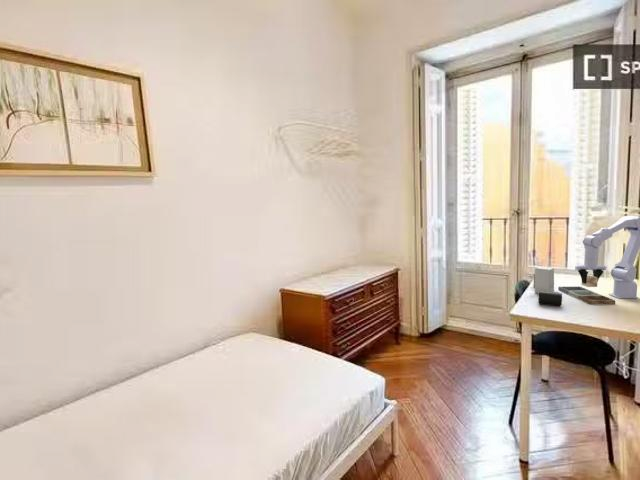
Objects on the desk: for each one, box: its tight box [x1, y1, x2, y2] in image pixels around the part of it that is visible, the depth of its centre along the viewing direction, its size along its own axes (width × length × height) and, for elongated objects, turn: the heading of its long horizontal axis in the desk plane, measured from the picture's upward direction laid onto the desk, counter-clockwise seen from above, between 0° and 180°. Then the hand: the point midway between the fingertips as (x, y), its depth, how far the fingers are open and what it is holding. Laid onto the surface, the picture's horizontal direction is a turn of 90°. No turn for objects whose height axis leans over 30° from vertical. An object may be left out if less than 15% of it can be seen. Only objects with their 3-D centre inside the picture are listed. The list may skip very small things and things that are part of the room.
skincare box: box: [534, 266, 555, 294], centre depth 209 cm, size 8×6×15 cm
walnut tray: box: [578, 295, 616, 305], centre depth 191 cm, size 12×9×2 cm
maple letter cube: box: [580, 275, 599, 288], centre depth 197 cm, size 5×5×5 cm
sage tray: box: [567, 290, 603, 300], centre depth 201 cm, size 12×9×2 cm
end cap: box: [538, 291, 563, 307], centre depth 188 cm, size 10×7×7 cm
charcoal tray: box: [558, 286, 591, 295], centre depth 211 cm, size 12×9×2 cm
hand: (589, 283), depth 197 cm, fingers closed on maple letter cube, 5 cm apart
